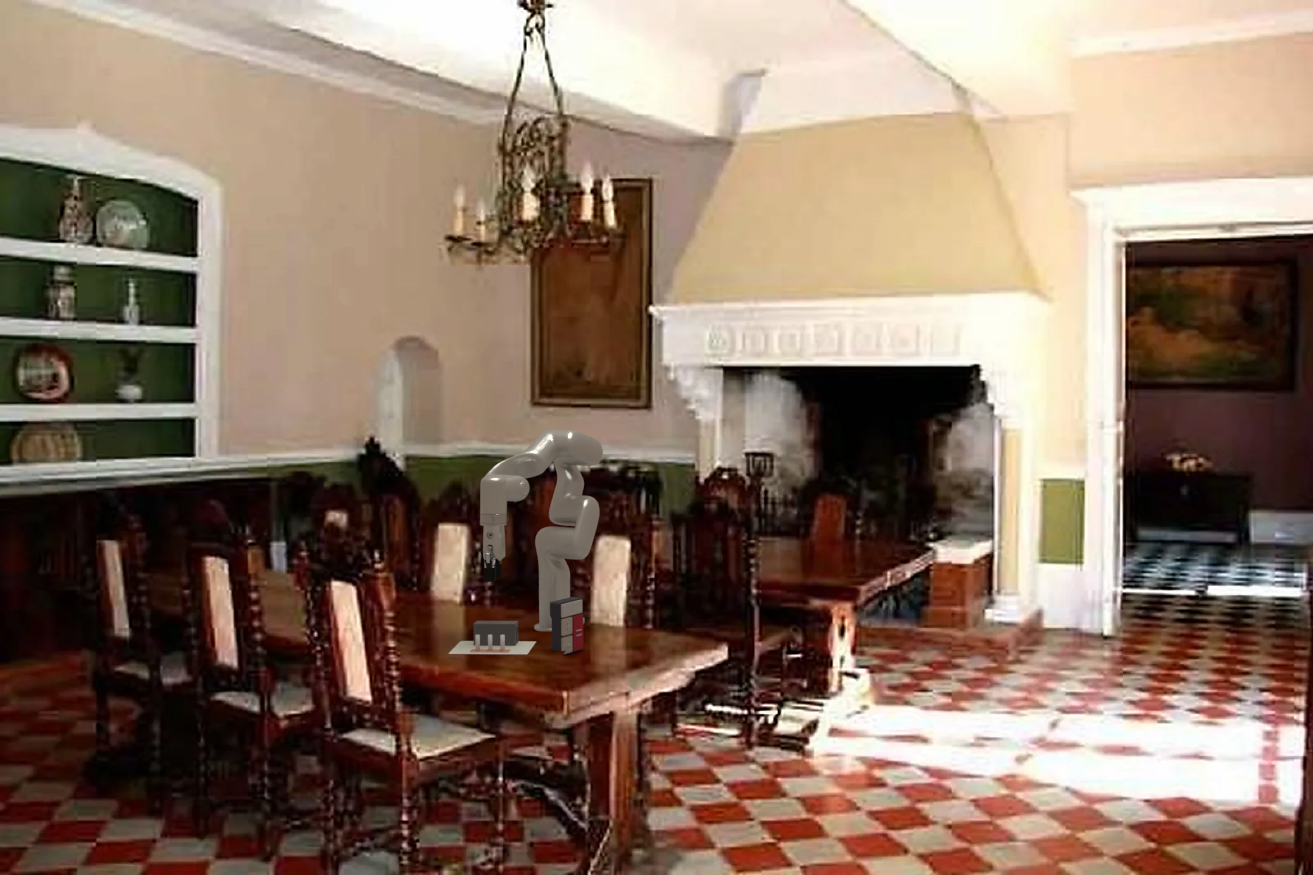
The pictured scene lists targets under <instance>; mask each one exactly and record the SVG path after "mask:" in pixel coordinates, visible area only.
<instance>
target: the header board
mask: <svg viewBox="0 0 1313 875" xmlns="http://www.w3.org/2000/svg"><path fill="white" fill-rule="evenodd" d="M475 641H476V646H474V640H460V641H459V642H458V643H457V644H456V645H455V646H453V648H452V649H451V650H450V651H449V652H448V655H528V654H529V653H530V651H531V650H532V648H533V647H534V646H535V644H536V643H537V641H532V640H531V641H527V640H526V641H525V640H523V641H522V640H521V641H520V640H518V643H516V646H505V635H500V646H492V635H488V646H480V635H475ZM508 659H509V658H504V660H508ZM522 659H523V660H527V661H528V658H522ZM448 660H461V658H455V657H454V658H450V657H449V658H448ZM508 661H509V660H508Z"/></svg>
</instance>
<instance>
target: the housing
mask: <svg viewBox="0 0 1313 875" xmlns="http://www.w3.org/2000/svg"><path fill="white" fill-rule="evenodd" d="M475 635H480V646H488V635H492V646H500V635H505V646H516V643H518V641H519V621H518V620H476V621H475V622H474V623H473V641H474V646H476V641H475Z"/></svg>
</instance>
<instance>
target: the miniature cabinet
mask: <svg viewBox="0 0 1313 875" xmlns="http://www.w3.org/2000/svg"><path fill="white" fill-rule="evenodd" d="M550 616H551V618H552V631H551V650H552V651H556V652H564V653H563V656H566V655H569V654H573V653H575V652H579V651H582V650H583V649H584V624H583V618H584V614H583V598H582V597H577V596H576V597H575V596H570V597H569V598H565V599H561V600H557V601H553V602H550Z"/></svg>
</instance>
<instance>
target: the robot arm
mask: <svg viewBox="0 0 1313 875" xmlns="http://www.w3.org/2000/svg"><path fill="white" fill-rule="evenodd" d="M603 455H604V450H603V446H602V444H601V443H600V441H599V440H598V439H597V438H595V437H592V436H589V434H585V433H583V432H581V431H577V430H575V429H574V430H573V429H547V430H544V431H543V432H541V433H540V434H539V435H538V436H537V437H536V438H535V439H534V440H533V442H532V443H531V444H529V446H527V447H526V449H525V450H524V451H523V452H520V453H518V454H516V455H512V456H511V457H508V458H506V459H504V460H503V461H500V462H499V463H497V464H495V465H494V466H493V467H492V468H491V469H490V470H489V471H487V473H486V474H485V475H484V477H483V478H481V480H480V491H479V492H480V496H479V497H480V499H479V500H480V507H479V508H480V510H479V513H480V517H479V519H480V520H479V525H480V526H481V527H482V526H483V533H482V534H483V538H482V556H483V560H484V567H483V581H484V582H485V583H495V582H496V580H497V578H499V579H501V578H502V577H503V564H502V562H503V561H502V560H503V559H504V558H506V536H505V526H507V524H508V523H507V522H508V520H507V519H508V517H507V516H508V512H507V510H508V507H507V506H508V505H507V504H508V502H520V501H522V500H524V499H526V497H527V496H528V494H529V492H530V484H529V481H528V480H527V479H529V478H533V477H536V476H539V475H542V474H543V473H544V472H545V471H546V469H548V468H549V467H550V466H551V464H554V467H555V471H556V475H557V478H556V479H557V480H556V483H555V484H556V485H555V488H554V492H553V496H552V499H551V502H550V507H549V510H548V511H549V512H548V518H549V520H550V522H552V523H553V524H556V525H560V526H546V527H543V528H541V529H540V530H539V531H538V532H537V534H536V536H535V539H534V540H535V549H536V550H535V551H536V555H537V561H538V562H537V563H538V584H539V585H538V602H539V604H538V605H539V606H538V610H539V611H538V612H539V613H538V615H539V617H538V618H539V619H538V620H539V621H538V623H535V624H534V625H533V626H534V628H533V629H534V630H535V631H536V632H552V618H551V616H550V602H553V601H557V600H561V599H565V598H569V597H571V573H570V568H569V565H568V564H567V561H566V560H583V559H585V558H586V557H587V556H589V554H590V551H591V549H592V545H593V542H594V538H595V535H596V532H597V528H598V523H599V518H600V506H599V502H598V501H597V500H596V499H595V498H594V497H592V496H591V495H590V496H589V495H583V491H584V486H585V482H584V477H583V476H582V474H581V473H582V472H580V470H579V468H578V467H577V466H580V467H581V466H583V467H584V466H586V467H593V466H597V465H598V464H599V463H600V462H601V460H602V458H603ZM566 526H570V527H566ZM565 559H566V560H565ZM585 622H586V621H585V617H583V625H584V624H585Z"/></svg>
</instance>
